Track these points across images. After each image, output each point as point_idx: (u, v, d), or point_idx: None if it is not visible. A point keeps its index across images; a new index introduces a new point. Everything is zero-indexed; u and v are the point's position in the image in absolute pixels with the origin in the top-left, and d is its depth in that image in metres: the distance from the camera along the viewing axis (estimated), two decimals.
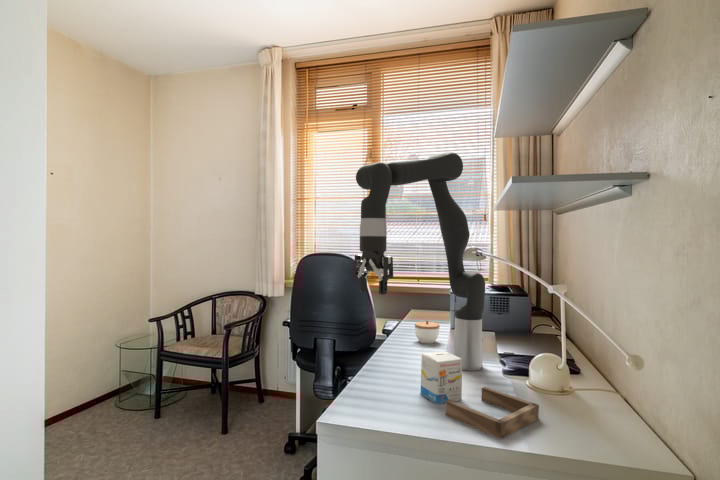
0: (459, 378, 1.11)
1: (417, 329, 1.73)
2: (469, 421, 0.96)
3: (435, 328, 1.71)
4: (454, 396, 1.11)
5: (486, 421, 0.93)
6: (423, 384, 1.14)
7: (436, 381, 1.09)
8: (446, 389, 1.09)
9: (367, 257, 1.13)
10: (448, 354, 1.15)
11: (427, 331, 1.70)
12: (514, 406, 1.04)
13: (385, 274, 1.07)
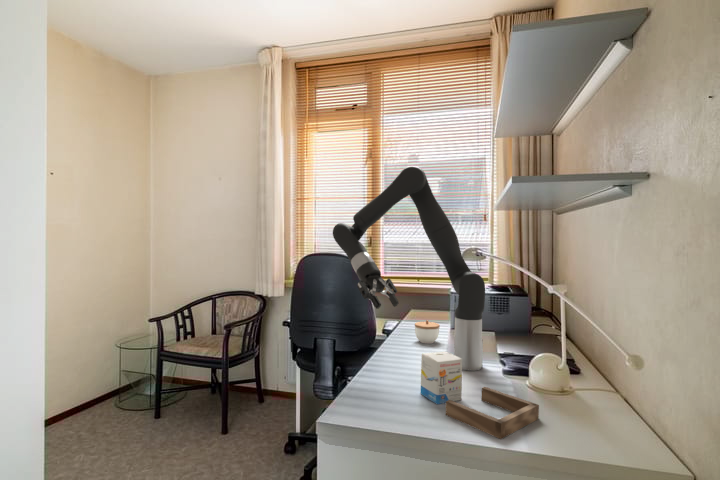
0: (459, 378, 1.11)
1: (417, 329, 1.73)
2: (469, 421, 0.96)
3: (435, 328, 1.71)
4: (454, 396, 1.11)
5: (486, 421, 0.93)
6: (423, 384, 1.14)
7: (436, 381, 1.09)
8: (446, 389, 1.09)
9: None
10: (448, 354, 1.15)
11: (427, 331, 1.70)
12: (514, 406, 1.04)
13: None
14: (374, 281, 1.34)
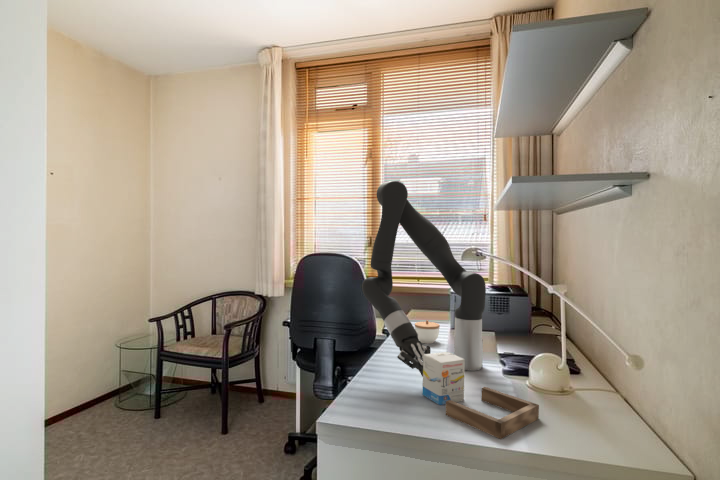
0: (461, 379, 1.11)
1: (417, 329, 1.73)
2: (469, 421, 0.96)
3: (435, 328, 1.71)
4: (457, 397, 1.10)
5: (486, 421, 0.93)
6: (425, 385, 1.14)
7: (439, 382, 1.08)
8: (449, 389, 1.09)
9: None
10: (450, 354, 1.15)
11: (427, 331, 1.70)
12: (514, 406, 1.04)
13: None
14: (413, 347, 1.20)
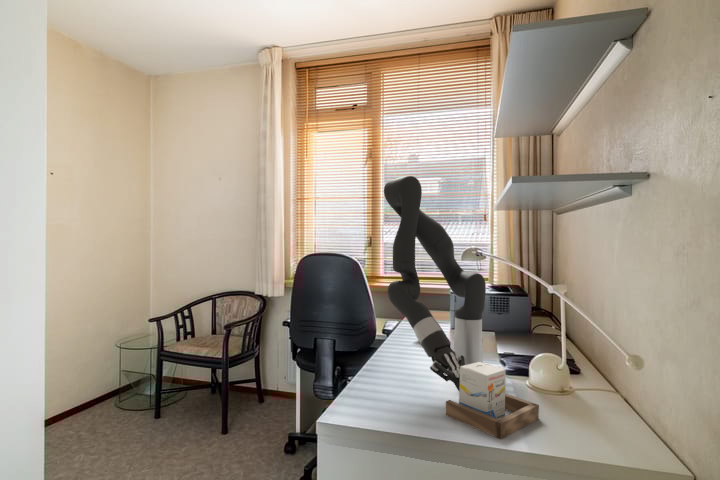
0: (503, 390, 1.02)
1: None
2: (469, 421, 0.96)
3: None
4: (499, 411, 1.01)
5: (486, 421, 0.93)
6: (463, 400, 1.03)
7: (484, 397, 0.98)
8: (493, 404, 1.00)
9: None
10: (487, 365, 1.06)
11: None
12: (514, 406, 1.04)
13: None
14: (446, 357, 1.10)
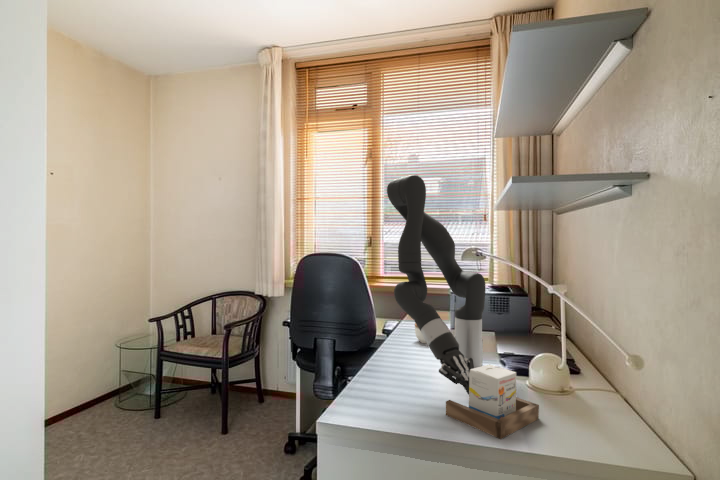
0: (514, 394, 1.00)
1: (417, 329, 1.73)
2: (469, 421, 0.96)
3: None
4: None
5: (486, 421, 0.93)
6: (473, 404, 1.01)
7: (495, 401, 0.96)
8: (504, 408, 0.97)
9: None
10: (497, 368, 1.03)
11: None
12: None
13: None
14: (455, 359, 1.08)
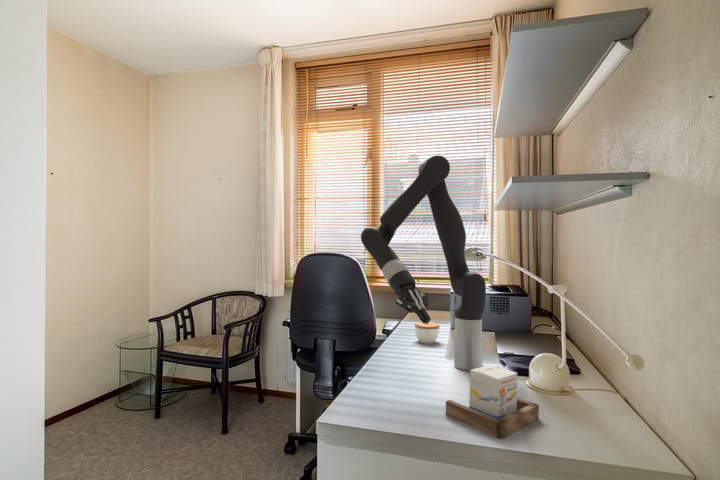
0: (515, 395, 1.00)
1: (417, 329, 1.73)
2: (469, 421, 0.96)
3: (435, 328, 1.71)
4: None
5: (486, 421, 0.93)
6: (474, 404, 1.01)
7: (496, 401, 0.96)
8: (505, 408, 0.97)
9: None
10: (498, 368, 1.03)
11: (427, 331, 1.70)
12: None
13: None
14: (410, 292, 1.21)
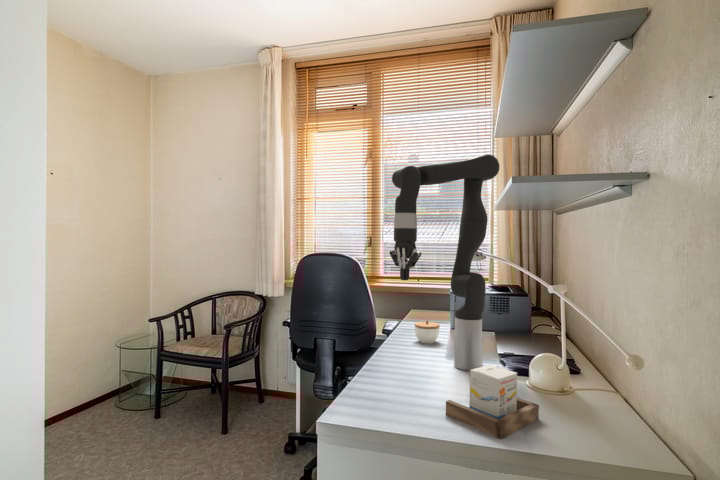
0: (515, 395, 1.00)
1: (417, 329, 1.73)
2: (469, 421, 0.96)
3: (435, 328, 1.71)
4: None
5: (486, 421, 0.93)
6: (474, 404, 1.01)
7: (496, 401, 0.96)
8: (505, 408, 0.97)
9: (400, 246, 1.32)
10: (498, 368, 1.03)
11: (427, 331, 1.71)
12: None
13: (408, 263, 1.30)
14: None
